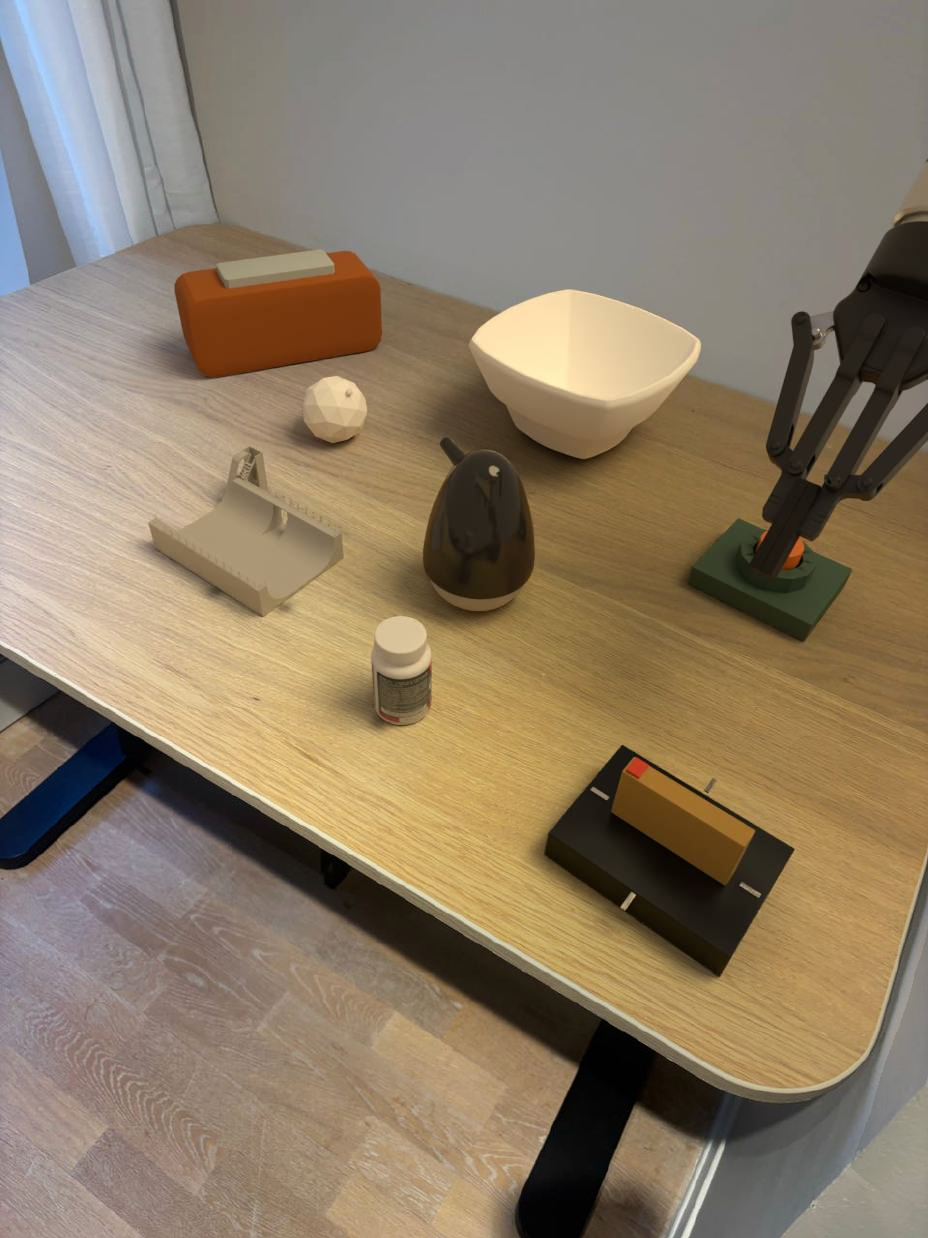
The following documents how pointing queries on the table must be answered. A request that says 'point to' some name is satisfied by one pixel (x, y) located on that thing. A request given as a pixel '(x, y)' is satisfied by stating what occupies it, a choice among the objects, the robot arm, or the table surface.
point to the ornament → (334, 409)
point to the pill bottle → (401, 670)
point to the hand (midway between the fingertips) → (761, 573)
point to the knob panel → (664, 871)
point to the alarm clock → (278, 311)
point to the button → (794, 555)
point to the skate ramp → (252, 541)
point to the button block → (769, 582)
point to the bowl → (581, 367)
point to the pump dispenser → (479, 531)
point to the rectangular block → (681, 820)
